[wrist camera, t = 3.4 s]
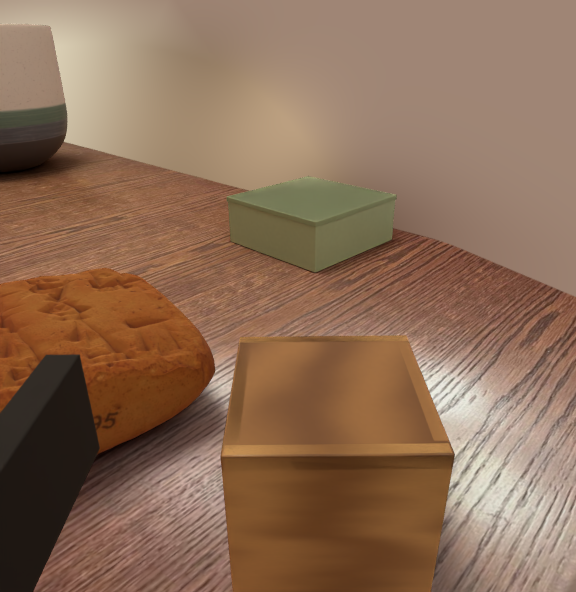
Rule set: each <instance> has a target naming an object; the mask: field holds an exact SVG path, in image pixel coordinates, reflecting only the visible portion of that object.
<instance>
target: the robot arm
mask: <svg viewBox="0 0 576 592" xmlns="http://www.w3.org/2000/svg"><path fill="white" fill-rule="evenodd" d="M99 449H100V446H99V441H98V437H97V432H96V427H95V423H94V418H93V414H92V409H91V404H90V400H89V395H88V390H87V386H86V381H85V377H84V372H83V367H82V363H81V358H80V354H69V355H45V356H44V358H43V359H42V360H41V362H40V363H39V364H38V365H37V367H36V368H35V369H34V371H33V372H32V373H31V374H30V376H29V377H28V378H27V379H26V381H25V382H24V383H23V385H22V386H21V387H20V388H19V390H18V391H17V392H16V393H15V395H14V396H13V397H12V399H11V400H10V401H9V402H8V404H7V405H6V406H5V408H4V409H3V410H2V411H1V413H0V592H33V591H34V588H35V586H36V584H37V582H38V580H39V578H40V576H41V573H42V571H43V569H44V567H45V565H46V563H47V561H48V558H49V556H50V554H51V552H52V550H53V548H54V546H55V543H56V541H57V539H58V537H59V535H60V533H61V531H62V528H63V526H64V524H65V522H66V520H67V518H68V516H69V513H70V511H71V509H72V507H73V505H74V503H75V501H76V498H77V496H78V494H79V492H80V490H81V488H82V486H83V483H84V481H85V479H86V477H87V475H88V473H89V471H90V468H91V466H92V464H93V462H94V460H95V458H96V456H97V453H98V451H99Z"/></svg>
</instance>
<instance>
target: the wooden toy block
mask: <svg viewBox="0 0 576 592" xmlns="http://www.w3.org/2000/svg"><path fill="white" fill-rule="evenodd" d="M454 456H455V454H454V452H453V449H452V447H451V444H450V442H449V439H448V437H447V434H446V432H445V429H444V427H443V425H442V422H441V420H440V417H439V415H438V412H437V410H436V407H435V405H434V403H433V400H432V398H431V395H430V393H429V390H428V388H427V385H426V383H425V380H424V378H423V376H422V373H421V371H420V368H419V366H418V363H417V361H416V358H415V356H414V354H413V351H412V349H411V346H410V344H409V341H408V339H407V336H301V337H240V340H239V346H238V352H237V358H236V364H235V371H234V377H233V383H232V389H231V395H230V401H229V408H228V414H227V420H226V426H225V432H224V438H223V445H222V451H221V467H222V477H223V488H224V500H225V511H226V522H227V533H228V544H229V555H230V567H231V578H232V589H233V592H431V588H432V582H433V576H434V570H435V565H436V559H437V553H438V547H439V542H440V536H441V530H442V524H443V519H444V513H445V507H446V501H447V496H448V490H449V484H450V478H451V472H452V467H453V462H454Z"/></svg>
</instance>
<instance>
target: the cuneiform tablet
mask: <svg viewBox="0 0 576 592" xmlns="http://www.w3.org/2000/svg"><path fill="white" fill-rule="evenodd" d="M69 354H80V358H81V363H82V367H83V372H84V377H85V381H86V386H87V390H88V395H89V400H90V404H91V409H92V414H93V418H94V423H95V427H96V432H97V437H98V441H99V446H100V449H99V451H98V453H97V454H99V453H101V452H104V451H106V450H108V449H110V448H112V447H114V446H116V445H119V444H121V443H123V442H125V441H128V440H130V439H133V438H135V437H137V436H139V435H141V434H143V433H145V432H147V431H149V430H150V429H152V428H154V427H156V426H158V425H160V424H161V423H163V422H165V421H167V420H169V419H171V418H172V417H174V416H175V415H176V414H178V413H179V412H181V411H182V410H183V409H185V408H186V407H188V406H189V405H190V404H191V403H192V402H193V401H194V400H195V399H197V398H198V397H199V396H200V394H201V393H202V391H203V390H204V389H205V387H206V386H207V385H208V384H209V382H210V381H211V379H212V377H213V375H214V373H215V364H214V358H213V356H212V353H211V350H210V348H209V346H208V344H207V342H206V341H205V339H204V338H203V336H202V335H201V333H200V331H199V330H198V329H197V328H196V327H195V326H194V325H193V324H192V323H191V321H190V320H189V319H188V318H187V317H186V316H185V315H184V314H183V313H182V312H181V311H180V310H179V309H178V308H177V307H176V306H175V305H174V304H173V303H171V302H170V301H169V300H168V299H167V298H166V297H165V296H164V295H163V294H161V293H160V292H159V291H158V290H157V289H155V288H154V287H153V286H151V285H150V284H149V283H147V282H146V281H145V280H144V279H142V278H140V277H138V276H137V275H132V274H127V273H122V274H120V273H118V272H116V271H114V270H112V269H107V268H101V269H94V270H88V271H84V272H81V273H78V274H68V275H61V276H40V277H38V278H31V279H27V280H20V281H14V282H8V283H3V284H0V413H1V411H2V410H3V409H4V408H5V406H6V405H7V404H8V402H9V401H10V400H11V399H12V397H13V396H14V395H15V393H16V392H17V391H18V390H19V388H20V387H21V386H22V385H23V383H24V382H25V381H26V379H27V378H28V377H29V376H30V374H31V373H32V372H33V371H34V369H35V368H36V367H37V365H38V364H39V363H40V362H41V360H42V359H43V358H44V356H45V355H69Z"/></svg>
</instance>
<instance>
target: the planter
mask: <svg viewBox="0 0 576 592" xmlns="http://www.w3.org/2000/svg"><path fill="white" fill-rule="evenodd" d="M66 131H67V110H66V104H65V99H64V93H63V88H62V82H61V77H60V72H59V67H58V62H57V57H56V51H55V46H54V41H53V36H52V32H51V28H50V26H46V25H29V24H0V172H12V171H19V170H24V169H29V168H32V167H35V166H37V165H40V164H42V163H44V162H45V161H47V160H48V159H49V158H51V157H52V156H53V155H54V154H55V153H56V152H57V151H58V149H59V148H60V147H61V145H62V143H63V142H64V139H65V136H66Z"/></svg>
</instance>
